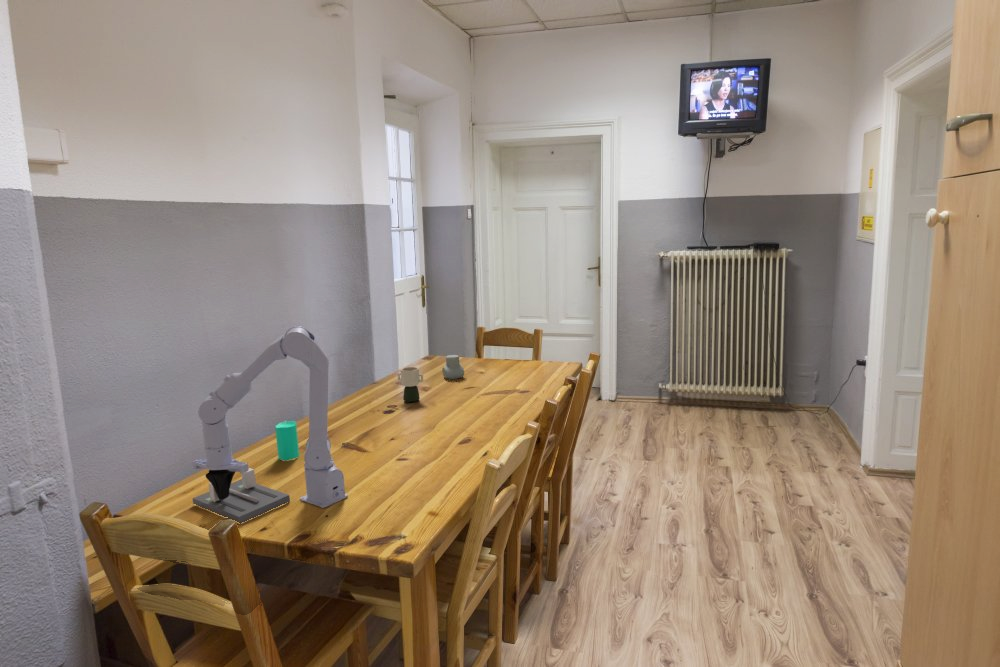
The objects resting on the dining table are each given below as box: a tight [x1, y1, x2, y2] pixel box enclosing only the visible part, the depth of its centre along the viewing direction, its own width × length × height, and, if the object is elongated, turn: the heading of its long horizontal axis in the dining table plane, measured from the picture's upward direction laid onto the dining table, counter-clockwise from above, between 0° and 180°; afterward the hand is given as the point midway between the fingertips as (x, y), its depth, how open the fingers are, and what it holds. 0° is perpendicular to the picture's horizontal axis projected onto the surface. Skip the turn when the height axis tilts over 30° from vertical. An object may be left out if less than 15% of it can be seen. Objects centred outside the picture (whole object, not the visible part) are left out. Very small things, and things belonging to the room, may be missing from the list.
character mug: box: [397, 366, 424, 403], centre depth 247 cm, size 11×7×13 cm, turn 72°
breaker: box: [241, 467, 257, 489], centre depth 165 cm, size 2×2×4 cm
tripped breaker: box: [208, 482, 220, 502], centre depth 158 cm, size 2×2×4 cm
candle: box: [274, 419, 300, 460], centre depth 191 cm, size 6×6×12 cm
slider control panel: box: [192, 478, 291, 525], centre depth 160 cm, size 20×14×3 cm
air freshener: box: [441, 354, 465, 380], centre depth 282 cm, size 11×8×10 cm
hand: (223, 497), depth 156 cm, fingers closed
